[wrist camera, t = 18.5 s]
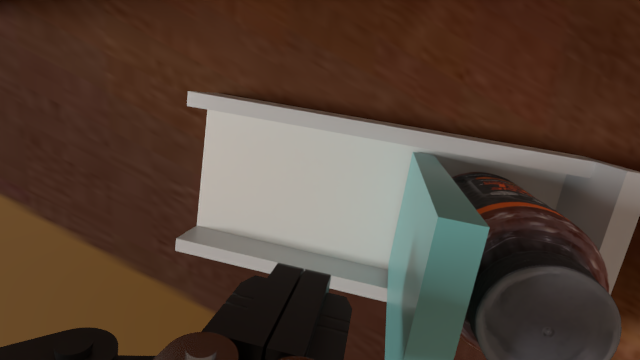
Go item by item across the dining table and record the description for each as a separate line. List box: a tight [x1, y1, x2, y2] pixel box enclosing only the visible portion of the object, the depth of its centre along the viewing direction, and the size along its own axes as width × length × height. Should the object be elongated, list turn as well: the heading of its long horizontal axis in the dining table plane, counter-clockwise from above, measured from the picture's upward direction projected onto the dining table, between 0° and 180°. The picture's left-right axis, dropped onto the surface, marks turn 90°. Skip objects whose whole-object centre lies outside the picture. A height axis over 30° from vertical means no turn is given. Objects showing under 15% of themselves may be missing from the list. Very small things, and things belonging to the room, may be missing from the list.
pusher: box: [385, 152, 490, 360], centre depth 16 cm, size 1×7×13 cm, turn 171°
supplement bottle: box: [451, 172, 621, 360], centre depth 17 cm, size 6×6×11 cm
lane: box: [175, 91, 640, 302], centre depth 21 cm, size 22×10×6 cm, turn 81°
